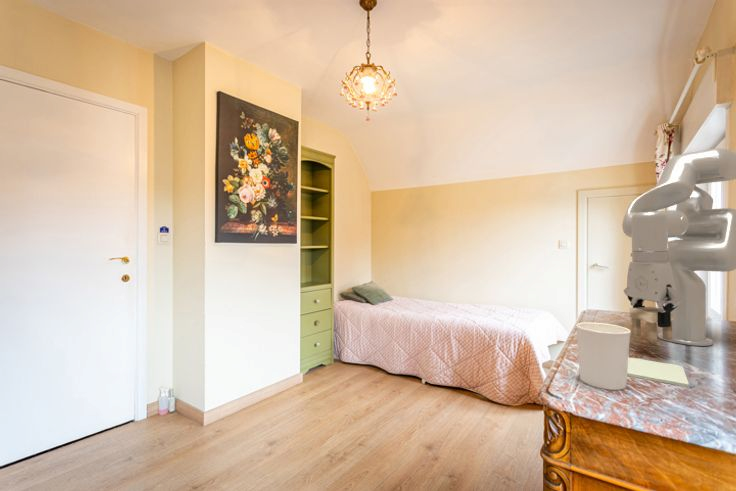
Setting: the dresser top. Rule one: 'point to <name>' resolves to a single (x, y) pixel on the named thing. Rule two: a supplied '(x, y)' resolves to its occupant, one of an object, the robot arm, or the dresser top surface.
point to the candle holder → (603, 354)
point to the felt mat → (657, 371)
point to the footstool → (649, 322)
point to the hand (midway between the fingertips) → (651, 322)
